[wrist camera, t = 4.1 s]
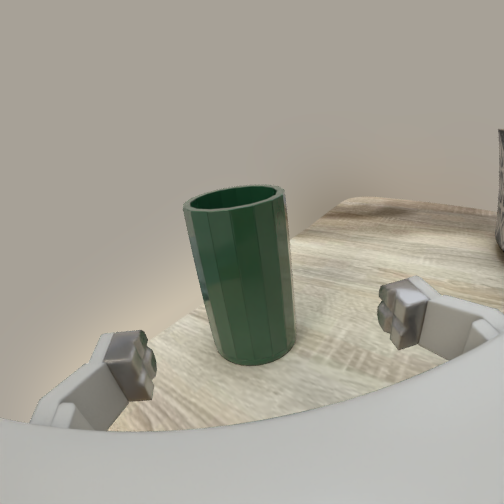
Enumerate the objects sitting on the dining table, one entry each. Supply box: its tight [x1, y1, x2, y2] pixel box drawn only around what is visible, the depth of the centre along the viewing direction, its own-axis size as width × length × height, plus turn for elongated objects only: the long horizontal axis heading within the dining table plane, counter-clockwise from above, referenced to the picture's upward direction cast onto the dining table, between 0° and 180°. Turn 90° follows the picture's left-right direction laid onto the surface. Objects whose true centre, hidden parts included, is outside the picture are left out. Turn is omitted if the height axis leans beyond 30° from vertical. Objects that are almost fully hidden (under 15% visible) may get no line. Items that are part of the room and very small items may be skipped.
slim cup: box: [183, 185, 296, 365], centre depth 22 cm, size 7×7×12 cm
